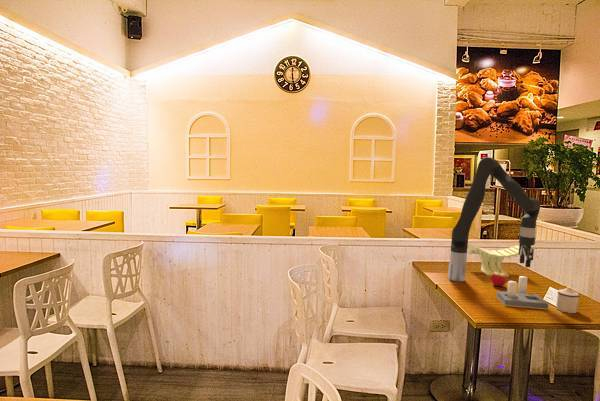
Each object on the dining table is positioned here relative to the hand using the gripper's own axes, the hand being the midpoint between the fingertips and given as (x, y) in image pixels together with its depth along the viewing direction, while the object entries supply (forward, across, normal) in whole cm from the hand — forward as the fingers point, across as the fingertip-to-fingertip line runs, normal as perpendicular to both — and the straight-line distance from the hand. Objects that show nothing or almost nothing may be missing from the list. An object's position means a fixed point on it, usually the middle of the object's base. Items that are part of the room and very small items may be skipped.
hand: (524, 265), depth 225 cm
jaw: (+16, +14, -10) cm, 23 cm away
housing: (+17, +14, -5) cm, 22 cm away
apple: (+17, -14, -8) cm, 23 cm away
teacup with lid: (+17, +18, +14) cm, 28 cm away
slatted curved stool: (+17, -44, -2) cm, 47 cm away
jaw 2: (+17, 0, 0) cm, 17 cm away
